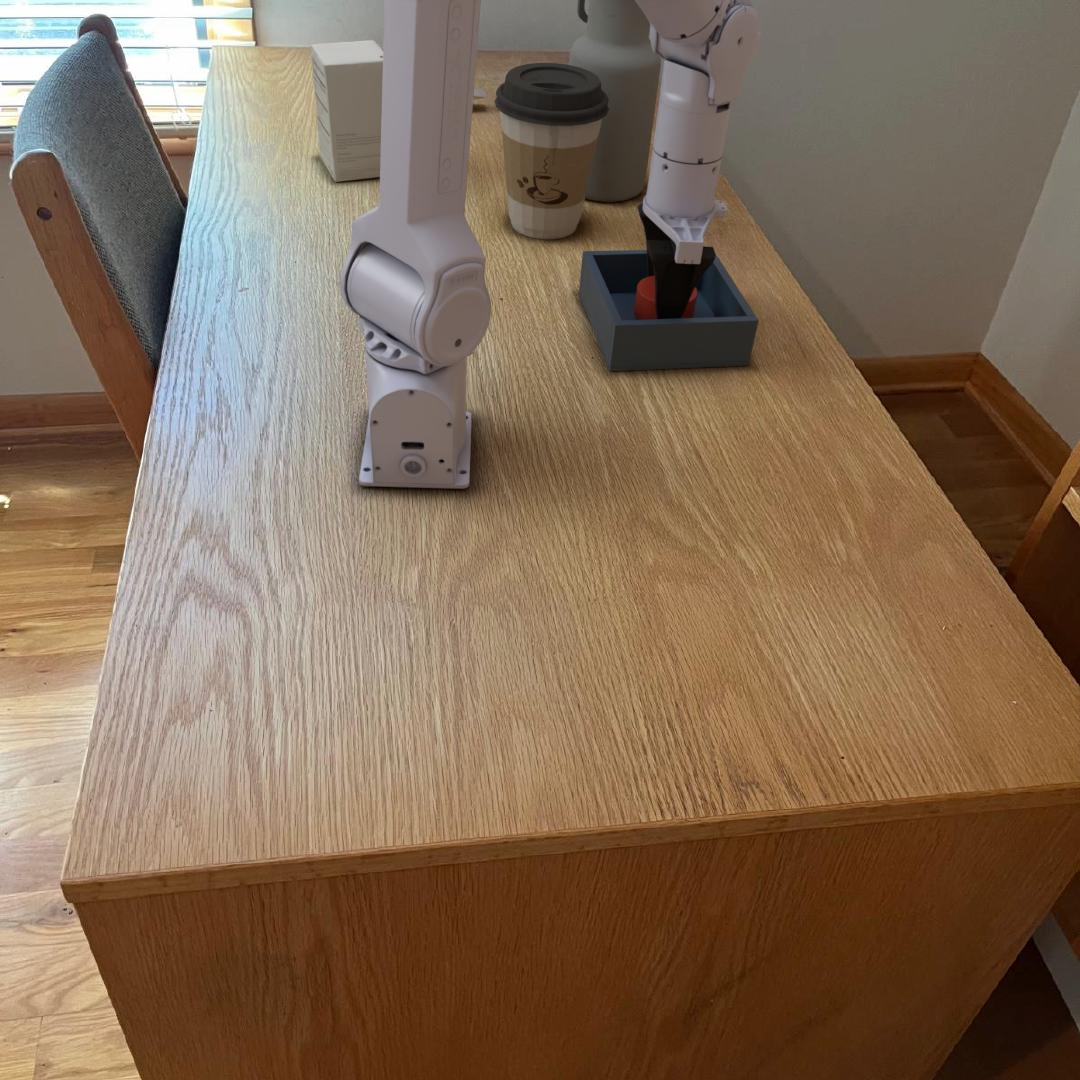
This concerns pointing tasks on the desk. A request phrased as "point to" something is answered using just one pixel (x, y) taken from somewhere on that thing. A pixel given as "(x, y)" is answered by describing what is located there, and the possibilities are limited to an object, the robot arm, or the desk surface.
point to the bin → (664, 343)
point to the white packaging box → (349, 107)
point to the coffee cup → (549, 144)
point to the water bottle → (619, 94)
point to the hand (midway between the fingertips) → (664, 301)
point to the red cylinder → (647, 301)
